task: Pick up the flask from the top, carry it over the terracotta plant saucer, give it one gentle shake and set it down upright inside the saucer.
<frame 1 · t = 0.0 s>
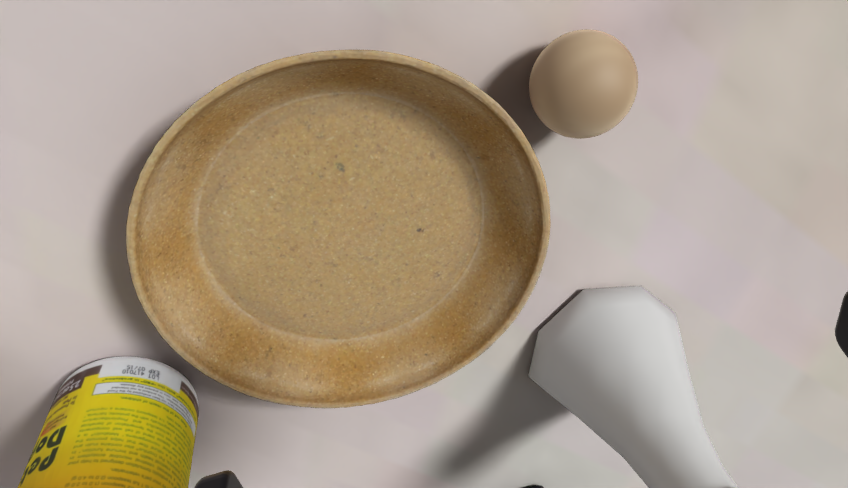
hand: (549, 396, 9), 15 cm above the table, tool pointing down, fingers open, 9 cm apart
supplement bottle: (132, 394, 26), on the table
flask: (596, 337, 30), on the table
plant saucer: (345, 221, 24), on the table
beige ball: (582, 85, 20), point 2 cm above the table
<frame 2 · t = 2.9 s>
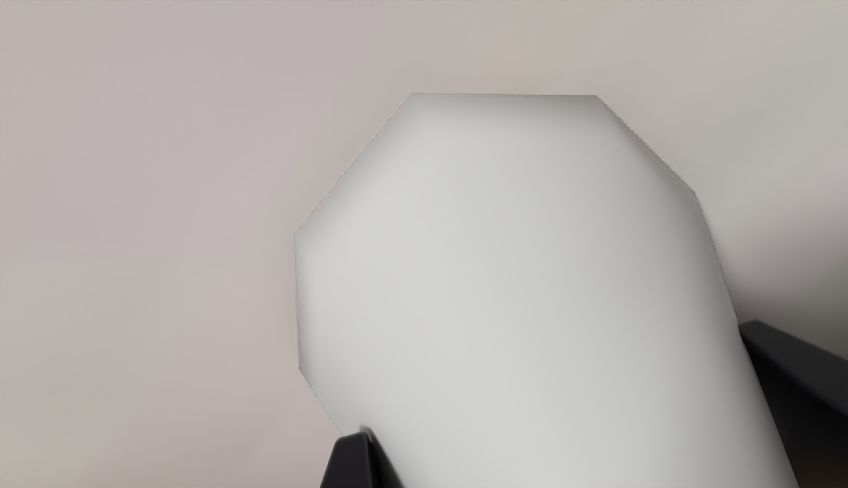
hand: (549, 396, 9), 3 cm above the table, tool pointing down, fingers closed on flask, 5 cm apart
flask: (485, 267, 11), on the table, touching gripper
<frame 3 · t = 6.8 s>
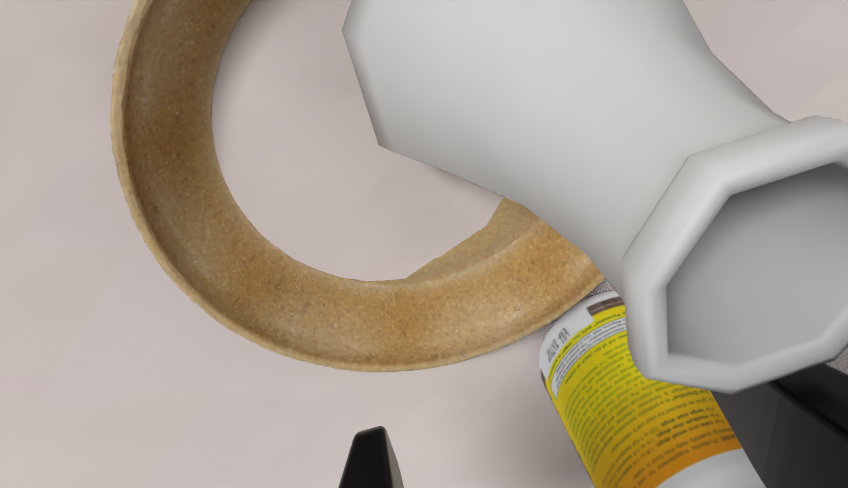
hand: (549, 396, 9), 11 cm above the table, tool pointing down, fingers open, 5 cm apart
supplement bottle: (599, 335, 24), on the table
flask: (494, 29, 14), point 2 cm above the table, touching gripper, plant saucer
plant saucer: (404, 124, 18), on the table, touching flask
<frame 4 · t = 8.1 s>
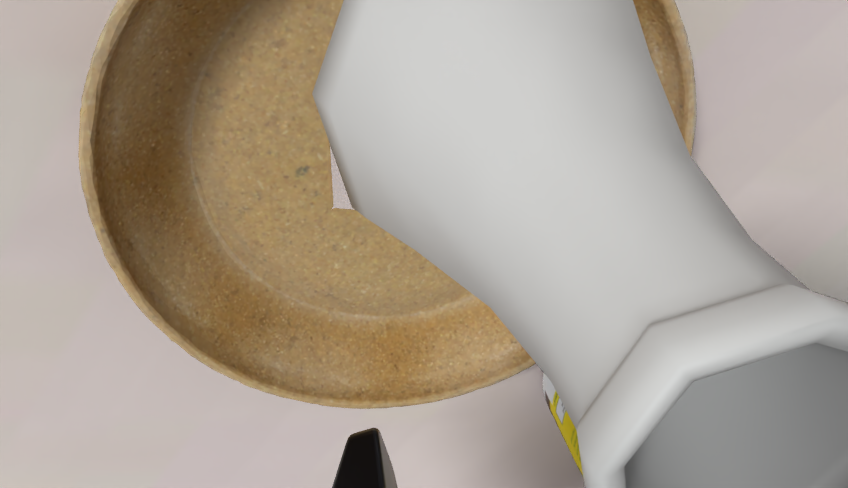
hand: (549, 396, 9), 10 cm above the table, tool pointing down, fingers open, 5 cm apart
supplement bottle: (605, 355, 23), on the table
flask: (473, 90, 14), point 2 cm above the table, touching gripper, plant saucer
plant saucer: (395, 151, 17), on the table, touching flask
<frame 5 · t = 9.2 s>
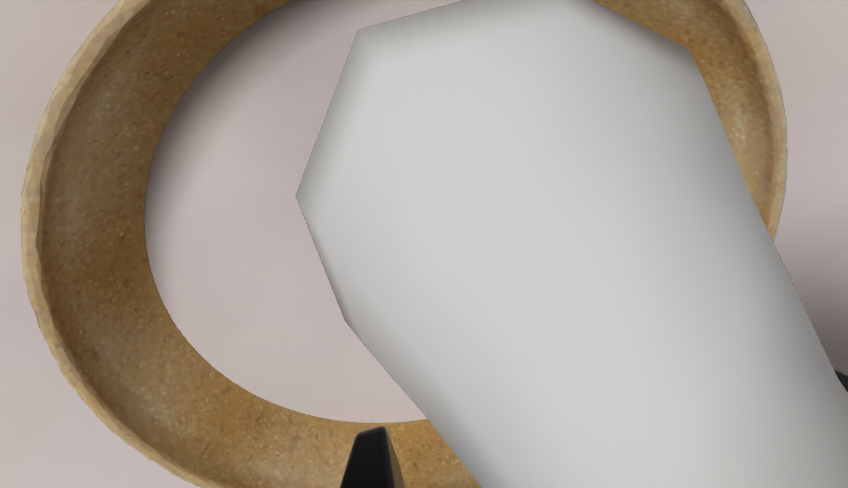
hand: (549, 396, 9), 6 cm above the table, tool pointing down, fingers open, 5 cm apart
flask: (495, 182, 11), point 2 cm above the table, touching gripper, plant saucer
plant saucer: (415, 224, 15), on the table, touching flask
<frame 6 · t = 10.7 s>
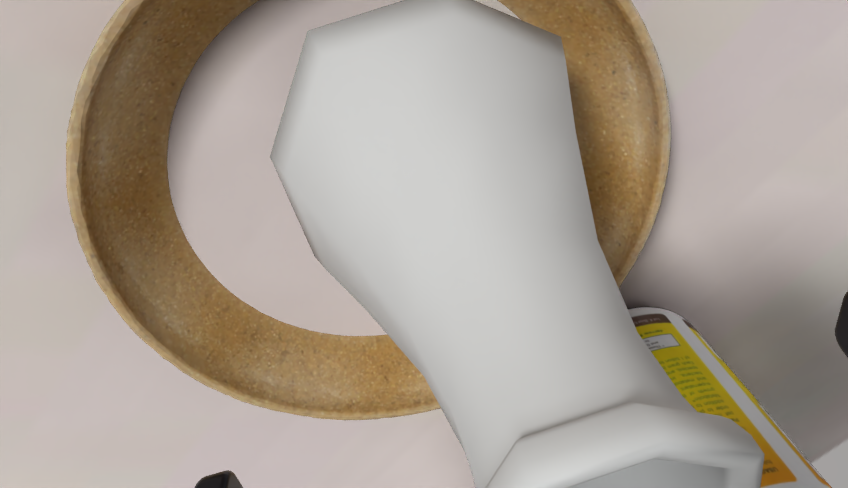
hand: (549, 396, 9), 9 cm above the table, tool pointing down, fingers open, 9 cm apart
supplement bottle: (617, 354, 23), on the table
flask: (425, 145, 15), point 2 cm above the table, touching plant saucer
plant saucer: (379, 170, 18), on the table, touching flask
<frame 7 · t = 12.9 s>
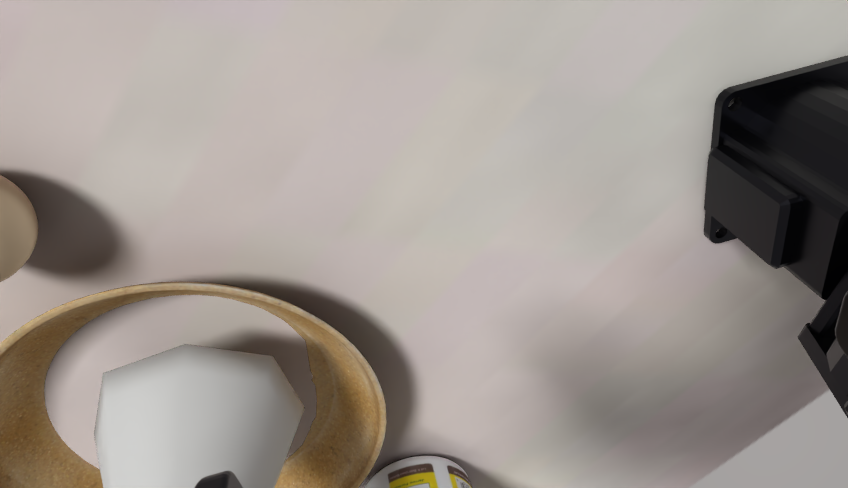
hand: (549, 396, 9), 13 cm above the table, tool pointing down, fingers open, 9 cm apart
supplement bottle: (413, 483, 31), on the table
flask: (203, 409, 22), point 2 cm above the table, touching plant saucer
plant saucer: (199, 389, 25), on the table, touching flask
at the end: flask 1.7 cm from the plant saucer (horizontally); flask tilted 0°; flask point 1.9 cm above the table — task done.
